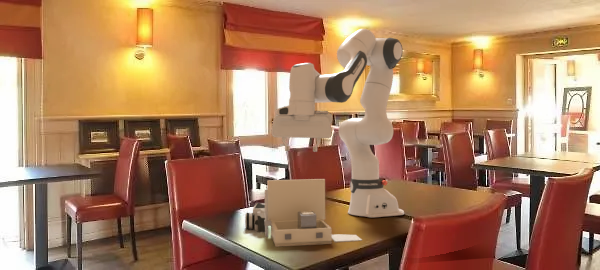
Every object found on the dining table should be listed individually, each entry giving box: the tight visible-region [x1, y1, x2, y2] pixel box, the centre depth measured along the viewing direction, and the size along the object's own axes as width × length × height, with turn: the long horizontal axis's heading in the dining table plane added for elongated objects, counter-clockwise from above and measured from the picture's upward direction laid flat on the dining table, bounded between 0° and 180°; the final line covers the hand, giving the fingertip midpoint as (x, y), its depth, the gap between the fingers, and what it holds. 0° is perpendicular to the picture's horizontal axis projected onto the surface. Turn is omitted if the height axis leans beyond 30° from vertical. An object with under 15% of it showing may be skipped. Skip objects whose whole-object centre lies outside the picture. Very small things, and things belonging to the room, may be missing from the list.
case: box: [264, 178, 333, 248], centre depth 151 cm, size 21×15×19 cm
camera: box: [244, 202, 265, 234], centre depth 168 cm, size 16×9×10 cm, turn 4°
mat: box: [332, 233, 363, 243], centre depth 153 cm, size 9×9×1 cm
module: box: [298, 210, 316, 229], centre depth 150 cm, size 5×7×8 cm
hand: (301, 151), depth 156 cm, fingers open, 8 cm apart
